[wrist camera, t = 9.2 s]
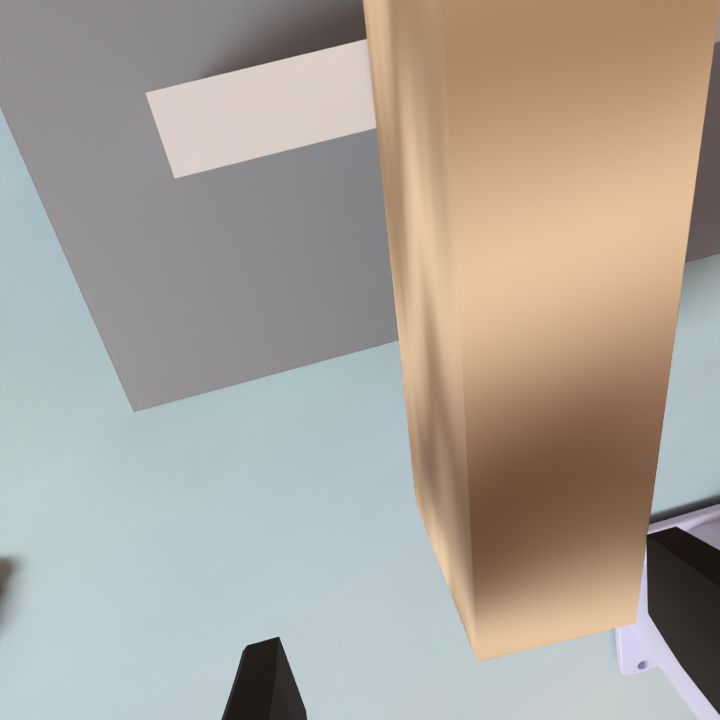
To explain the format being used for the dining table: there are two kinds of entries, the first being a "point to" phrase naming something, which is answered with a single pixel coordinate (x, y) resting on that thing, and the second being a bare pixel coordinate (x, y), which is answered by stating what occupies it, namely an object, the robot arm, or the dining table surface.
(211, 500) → the dining table surface
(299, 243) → the fulcrum stand
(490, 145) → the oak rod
